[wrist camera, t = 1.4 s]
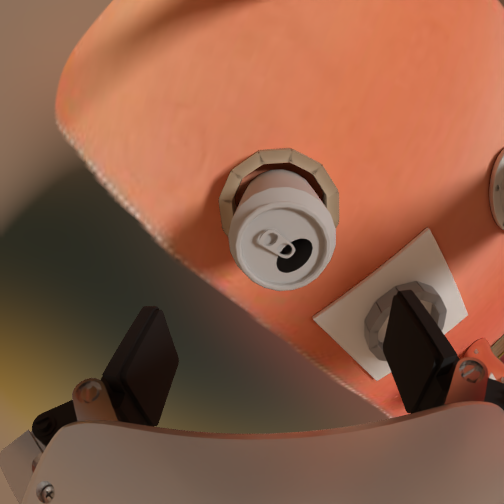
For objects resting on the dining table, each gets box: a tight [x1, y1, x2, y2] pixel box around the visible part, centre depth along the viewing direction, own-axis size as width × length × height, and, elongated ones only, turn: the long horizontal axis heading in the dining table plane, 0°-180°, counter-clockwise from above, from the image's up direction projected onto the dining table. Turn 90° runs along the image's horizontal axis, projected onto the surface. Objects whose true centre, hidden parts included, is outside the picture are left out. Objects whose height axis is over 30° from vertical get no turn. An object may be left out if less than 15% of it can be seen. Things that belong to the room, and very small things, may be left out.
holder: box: [313, 227, 468, 381], centre depth 32 cm, size 18×18×3 cm
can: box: [228, 169, 336, 291], centre depth 23 cm, size 8×8×12 cm
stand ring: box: [219, 148, 339, 236], centre depth 27 cm, size 11×11×2 cm
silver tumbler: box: [463, 338, 504, 383], centre depth 29 cm, size 7×7×15 cm
